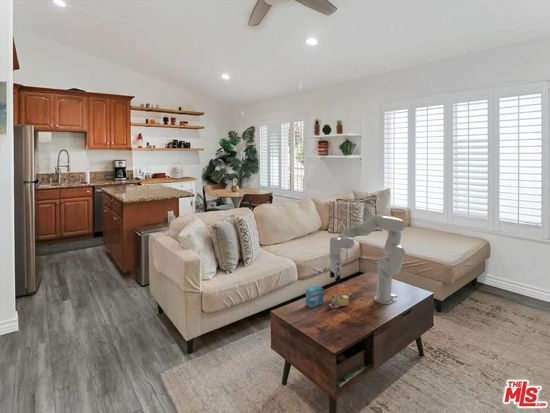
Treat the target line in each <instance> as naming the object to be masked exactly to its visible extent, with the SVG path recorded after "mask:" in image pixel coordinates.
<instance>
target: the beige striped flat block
mask: <svg viewBox="0 0 550 413" xmlns="http://www.w3.org/2000/svg"><path fill="white" fill-rule="evenodd" d="M328 307H330V309H338V308H339V306H338V305H337V303H335V306H332V303H329V304H328Z"/></svg>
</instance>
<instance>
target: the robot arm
mask: <svg viewBox="0 0 550 413" xmlns="http://www.w3.org/2000/svg"><path fill="white" fill-rule="evenodd" d="M378 228H379V229H381V230H384V231H387V237H386V241H385V244H384V246H383V253H384V254H385V255H387V256H381V257H379V258H378V259H377V262H376V266H377V282H376V283H377V285H376V295H375V296H374V297H373V299H374V301H375V302H376V303H379V304H382V305H391V304H393V302H394V299H396V298H398V294H394V293H392V287H393V286H392V284H393V283H392V282H393V276H397V275H398V274H399V273H400V271H401V269H402V266H403V263H404V260H405V256H406V251H405V249H404V247H403V246H402V245H400V242H401V239H402V232H403V231H404V230H405V229H406V223H405V221H404V220H403V219H400V218H398V217H395V216H392V215H388V216H385V215H382V214H381V213H376V214H374V215H372V216H371V217H369V218H367V219H366V220H364V221H363V222H362V223H360V224H357V225H355V226H352V227H349V228H347V229H345V230H344V231H343V232H341V233H340V234H338V236H332V237H331V236H330V238H329V259H330V260H329V278H330V279H332V278H335V284H341V278H342V276H341V275H342V273H343V269H342V267H343V266H342V249H347V250H348V249H349V250H350V249H352V248H353V247H354V246H355V241H354V239H353V238H356V237H364V236H368V235H370V234H372V233H373V232H374V231H375V230H377V229H378Z"/></svg>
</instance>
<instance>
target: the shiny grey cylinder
mask: <svg viewBox="0 0 550 413" xmlns="http://www.w3.org/2000/svg"><path fill="white" fill-rule="evenodd" d="M336 302H337V295H331V304H332V306H335V304H336Z"/></svg>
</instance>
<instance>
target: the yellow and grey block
mask: <svg viewBox="0 0 550 413" xmlns="http://www.w3.org/2000/svg"><path fill="white" fill-rule="evenodd" d="M349 299H350V297H349V296H348V295H346V294H345V295H342V294H337V295H336V302H335V304H337V305H338V307H346V306H349V305H350V304H349V302H350V300H349Z"/></svg>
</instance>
